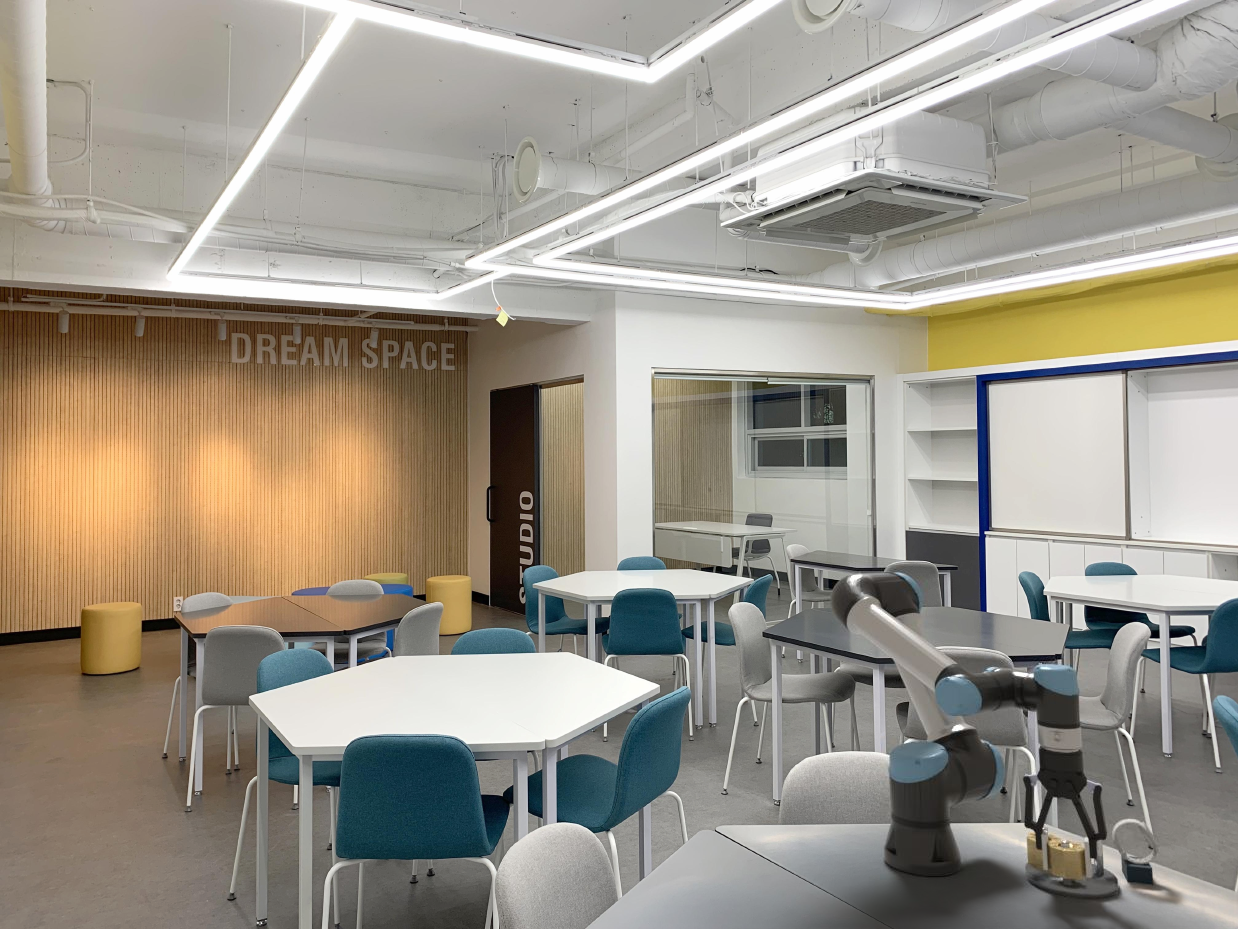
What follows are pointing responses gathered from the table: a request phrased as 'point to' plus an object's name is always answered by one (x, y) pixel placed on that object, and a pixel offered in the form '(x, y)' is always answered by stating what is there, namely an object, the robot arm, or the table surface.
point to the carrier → (1084, 888)
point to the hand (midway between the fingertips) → (1067, 871)
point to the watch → (1137, 866)
